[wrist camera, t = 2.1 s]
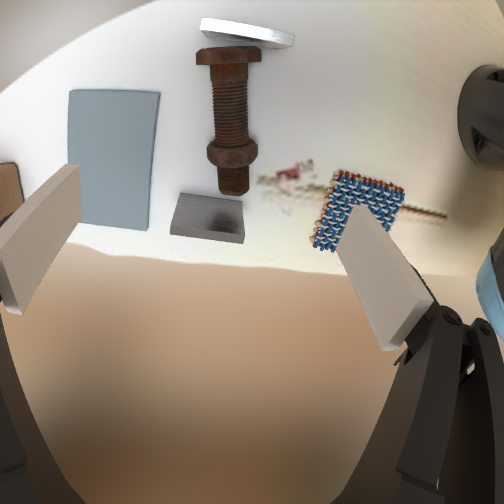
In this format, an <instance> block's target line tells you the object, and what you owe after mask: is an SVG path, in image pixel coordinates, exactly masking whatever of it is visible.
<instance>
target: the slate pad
mask: <svg viewBox="0 0 504 504" xmlns="http://www.w3.org/2000/svg"><path fill="white" fill-rule="evenodd" d="M159 98H160V93H159V92H146V91H128V90H72V91H69V104H68V164H74V165H80V188H81V205H82V218H81V220H80V221H79V222H78V223H86V224H94V225H102V226H110V227H118V228H126V229H133V230H141V231H147V229H148V225H149V201H150V185H151V171H152V159H153V148H154V138H155V129H156V121H157V113H158V105H159Z"/></svg>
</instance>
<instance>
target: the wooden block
mask: <svg viewBox="0 0 504 504" xmlns="http://www.w3.org/2000/svg"><path fill="white" fill-rule="evenodd" d="M22 204H23V198H22V194H21V189H20V184H19V178H18V173H17V168H16V166H15V165H14V164H2V165H0V221H1V220H2V219H3V218H4V217H6V216H7V215H9V214H11V213H12V212H15V211H16V210H17V209H18V208H19V207H20V206H21V205H22Z"/></svg>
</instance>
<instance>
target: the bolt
mask: <svg viewBox="0 0 504 504" xmlns="http://www.w3.org/2000/svg"><path fill="white" fill-rule="evenodd" d="M250 62H261V50H260V49H259V48H258V47H256V46H236V47H216V48H206V49H200V50H199V51H198V52H197V53H196V65H210V77H211V81H212V84H213V85H212V87H213V89H212V90H213V91H214V92H212V94H214V95H213V98H214V99H213V101H215V102H213V104H214V106H213V108H215V109H213V111H214V113H213V114H214V118H215V119H214V121H215V122H214V124H215V126H214V127H215V131H216V132H215V134H216V135H215V137H216V139H215V140H214V141H212V142H211V143H210V144H209V145H208V147H207V158H208V159H209V161H210V162H211V163H212V164H213V165H215V166H217V169H218V170H217V172H218V181H219V182H218V186H219V190H220V192H221V193H222V194H223V195H230V196H242V195H244V194H245V193H246V192H247V191H248V190H249V167H248V166H249V164H251V163H252V162H253V161H254V160H255V159H256V157H257V155H258V145H257V144H256V143H255V142H254V141H253V140H252V139H249V138H248V132H247V131H248V129H247V128H248V125H247V124H248V122H247V121H248V119H247V117H248V116H247V114H248V112H247V111H248V109H247V105H246V104H247V102H246V101H247V99H246V98H247V95H246V94H247V92H246V91H247V88H246V87H247V85H246V84H247V79H248V63H250Z"/></svg>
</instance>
